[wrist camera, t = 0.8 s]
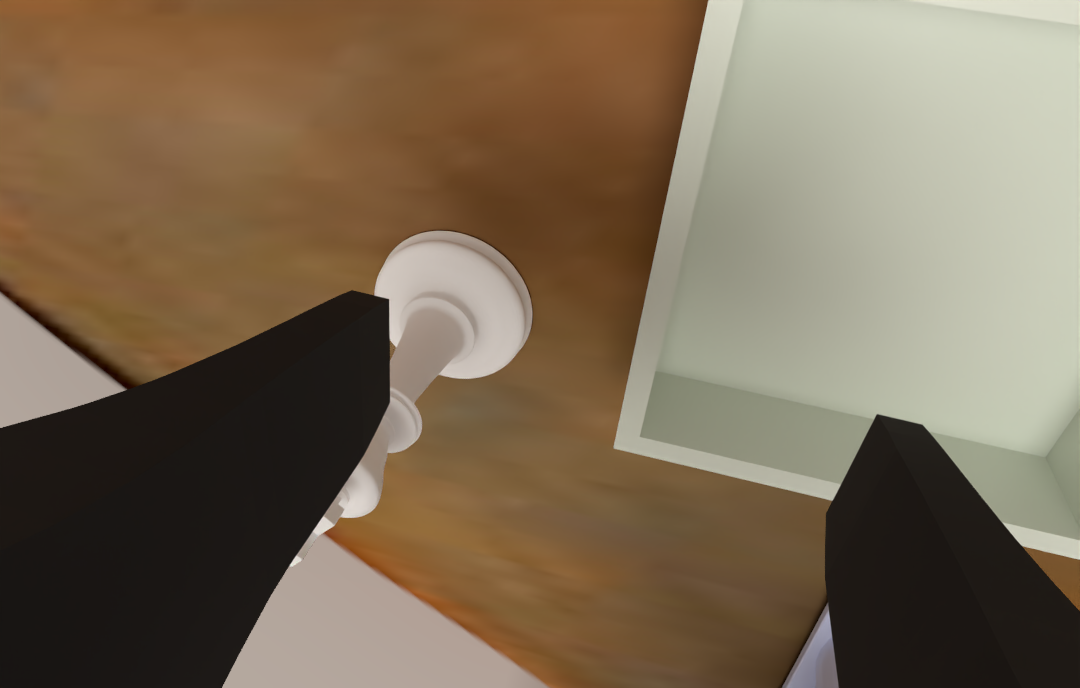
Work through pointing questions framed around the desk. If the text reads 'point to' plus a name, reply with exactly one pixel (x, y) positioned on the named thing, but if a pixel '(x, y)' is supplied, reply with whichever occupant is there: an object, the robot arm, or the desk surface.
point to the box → (873, 251)
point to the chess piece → (434, 342)
